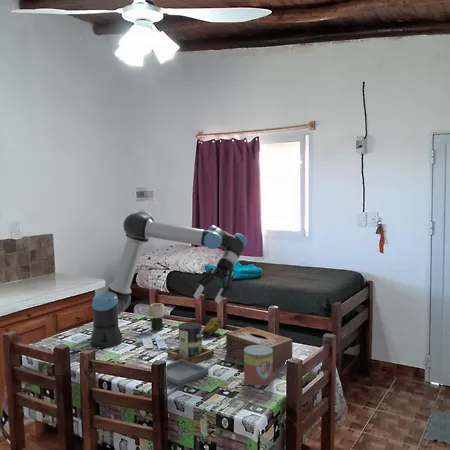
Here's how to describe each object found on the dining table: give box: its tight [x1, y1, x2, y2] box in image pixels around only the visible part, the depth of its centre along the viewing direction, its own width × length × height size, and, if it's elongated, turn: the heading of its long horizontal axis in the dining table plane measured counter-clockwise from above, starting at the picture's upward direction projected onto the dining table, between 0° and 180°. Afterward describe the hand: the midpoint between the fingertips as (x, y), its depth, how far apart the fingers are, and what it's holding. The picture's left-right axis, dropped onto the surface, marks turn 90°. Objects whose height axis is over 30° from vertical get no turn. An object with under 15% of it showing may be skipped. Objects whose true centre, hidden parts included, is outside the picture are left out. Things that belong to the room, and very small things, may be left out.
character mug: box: [147, 302, 167, 330], centre depth 249 cm, size 11×7×13 cm, turn 126°
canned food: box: [243, 345, 274, 387], centre depth 183 cm, size 11×11×12 cm
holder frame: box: [166, 346, 215, 364], centre depth 209 cm, size 14×14×2 cm
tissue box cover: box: [225, 326, 293, 370], centre depth 206 cm, size 26×14×10 cm, turn 43°
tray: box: [166, 359, 209, 388], centre depth 189 cm, size 16×16×2 cm
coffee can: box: [177, 321, 203, 358], centre depth 209 cm, size 10×10×14 cm
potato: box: [202, 316, 223, 338], centre depth 239 cm, size 8×13×8 cm, turn 129°
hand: (205, 299), depth 215 cm, fingers open, 13 cm apart
